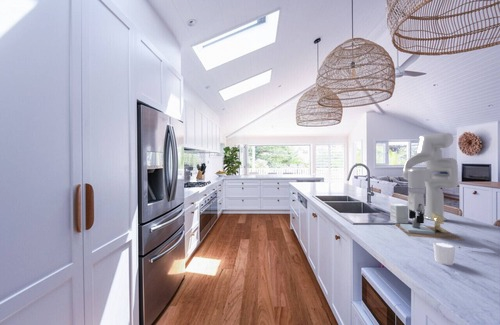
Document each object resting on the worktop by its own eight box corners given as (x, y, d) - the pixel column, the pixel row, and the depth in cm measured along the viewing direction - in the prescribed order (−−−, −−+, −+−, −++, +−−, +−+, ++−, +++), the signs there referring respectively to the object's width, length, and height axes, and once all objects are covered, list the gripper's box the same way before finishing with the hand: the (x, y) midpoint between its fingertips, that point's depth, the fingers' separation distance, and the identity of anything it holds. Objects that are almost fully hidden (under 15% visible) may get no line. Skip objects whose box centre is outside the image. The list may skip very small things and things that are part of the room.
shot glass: (431, 261, 89) (431, 244, 89) (433, 256, 94) (433, 240, 94) (454, 267, 84) (455, 249, 84) (455, 261, 89) (455, 244, 89)
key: (441, 235, 115) (441, 217, 115) (431, 228, 125) (431, 212, 125) (446, 235, 114) (447, 217, 114) (436, 229, 125) (436, 213, 124)
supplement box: (401, 222, 144) (401, 203, 144) (408, 225, 137) (408, 205, 137) (389, 222, 145) (389, 203, 145) (396, 225, 138) (396, 205, 138)
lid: (400, 226, 131) (400, 215, 131) (423, 227, 128) (423, 216, 128) (408, 232, 120) (408, 220, 120) (434, 234, 117) (434, 222, 116)
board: (394, 226, 136) (394, 223, 136) (440, 229, 129) (440, 226, 129) (408, 238, 115) (408, 235, 115) (465, 243, 108) (465, 240, 108)
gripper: (402, 188, 133) (402, 216, 133) (415, 192, 116) (415, 224, 116) (417, 189, 131) (417, 217, 131) (432, 193, 114) (431, 225, 114)
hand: (416, 220), depth 124 cm, fingers open, 9 cm apart
